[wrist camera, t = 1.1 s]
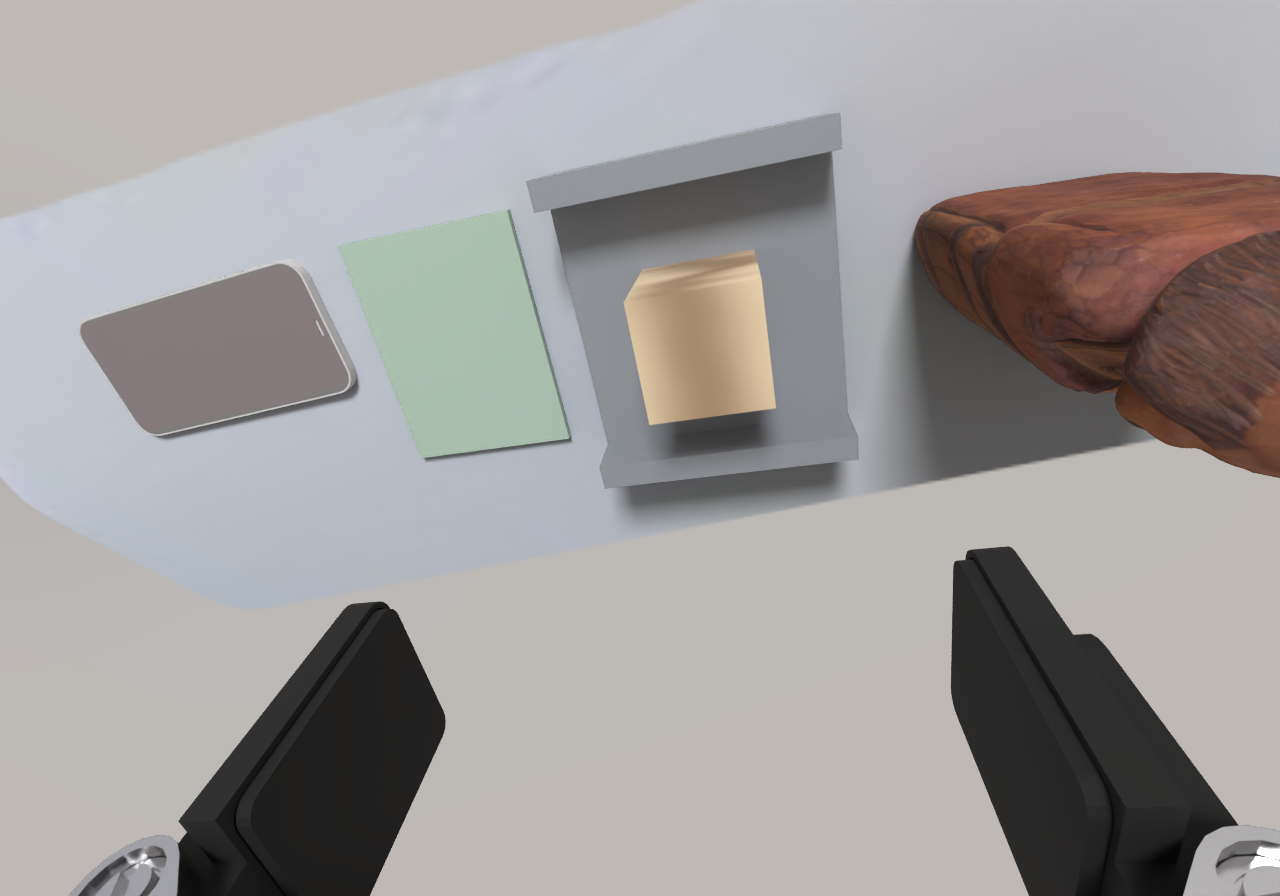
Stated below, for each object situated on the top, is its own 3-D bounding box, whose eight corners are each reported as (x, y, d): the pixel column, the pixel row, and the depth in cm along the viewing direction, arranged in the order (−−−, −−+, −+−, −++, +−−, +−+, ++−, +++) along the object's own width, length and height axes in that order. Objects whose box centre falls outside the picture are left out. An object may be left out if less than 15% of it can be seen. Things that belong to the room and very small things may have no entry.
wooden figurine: (898, 328, 30) (1095, 553, 14) (907, 185, 27) (1164, 266, 11) (1174, 306, 28) (1754, 536, 12) (1213, 150, 25) (2031, 188, 10)
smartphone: (69, 322, 35) (292, 255, 31) (84, 318, 36) (303, 252, 32) (146, 439, 38) (358, 390, 34) (158, 433, 39) (366, 384, 35)
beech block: (754, 249, 27) (761, 278, 22) (766, 357, 29) (776, 408, 24) (642, 269, 28) (623, 302, 23) (662, 373, 30) (649, 425, 25)
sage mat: (509, 209, 30) (507, 210, 29) (570, 435, 35) (569, 438, 34) (341, 244, 31) (337, 246, 31) (423, 455, 37) (420, 458, 36)
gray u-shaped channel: (822, 115, 26) (840, 112, 23) (842, 418, 33) (858, 459, 29) (553, 173, 29) (526, 181, 25) (618, 447, 35) (605, 488, 31)
